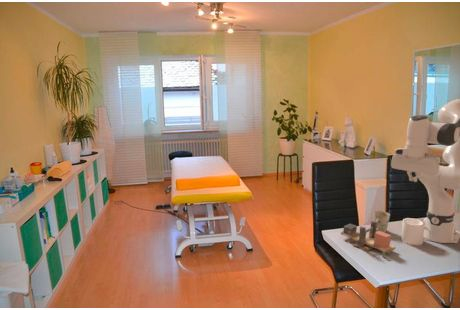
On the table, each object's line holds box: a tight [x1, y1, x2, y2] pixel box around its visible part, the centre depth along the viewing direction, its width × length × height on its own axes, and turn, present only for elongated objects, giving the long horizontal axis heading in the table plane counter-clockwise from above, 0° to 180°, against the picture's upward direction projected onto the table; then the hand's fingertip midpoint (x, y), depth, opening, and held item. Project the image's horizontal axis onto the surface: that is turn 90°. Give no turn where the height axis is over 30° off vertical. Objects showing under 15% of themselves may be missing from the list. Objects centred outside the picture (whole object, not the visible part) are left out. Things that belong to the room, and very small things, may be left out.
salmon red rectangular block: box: [374, 231, 392, 249], centre depth 173 cm, size 6×4×6 cm, turn 40°
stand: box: [352, 220, 387, 258], centre depth 176 cm, size 16×13×11 cm
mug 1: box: [373, 210, 391, 233], centre depth 194 cm, size 8×13×10 cm, turn 140°
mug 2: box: [400, 217, 431, 246], centre depth 182 cm, size 14×10×11 cm
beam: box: [340, 223, 396, 254], centre depth 179 cm, size 26×9×7 cm, turn 39°
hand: (413, 181), depth 161 cm, fingers closed
